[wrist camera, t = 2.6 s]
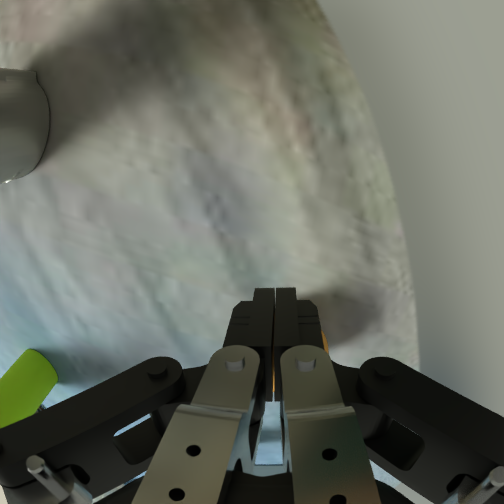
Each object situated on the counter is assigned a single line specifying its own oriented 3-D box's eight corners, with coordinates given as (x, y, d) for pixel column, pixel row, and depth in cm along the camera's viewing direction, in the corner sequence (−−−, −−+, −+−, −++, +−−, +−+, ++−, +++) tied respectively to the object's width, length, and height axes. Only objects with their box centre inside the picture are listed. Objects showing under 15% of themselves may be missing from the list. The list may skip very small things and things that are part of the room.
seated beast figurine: (121, 470, 39) (102, 520, 28) (140, 489, 42) (125, 534, 31) (82, 458, 40) (61, 503, 29) (103, 479, 43) (85, 520, 32)
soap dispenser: (56, 359, 29) (-29, 479, 10) (59, 389, 31) (-8, 496, 13) (22, 335, 28) (-67, 439, 10) (27, 368, 31) (-44, 463, 12)
